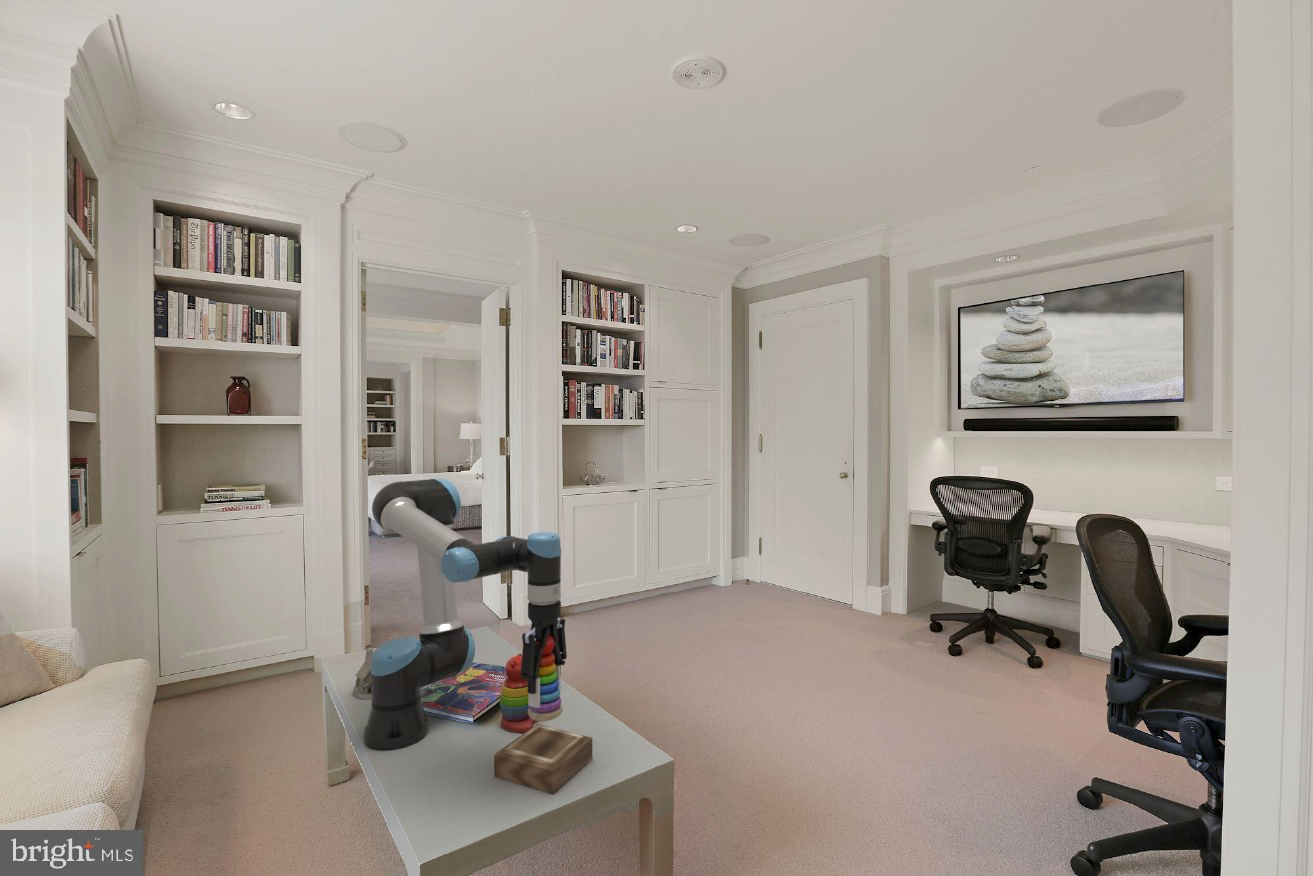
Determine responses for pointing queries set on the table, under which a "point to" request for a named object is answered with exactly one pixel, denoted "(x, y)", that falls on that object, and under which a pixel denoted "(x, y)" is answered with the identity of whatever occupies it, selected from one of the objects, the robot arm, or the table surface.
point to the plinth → (543, 758)
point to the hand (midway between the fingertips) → (544, 699)
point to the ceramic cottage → (364, 677)
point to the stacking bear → (515, 698)
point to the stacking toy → (547, 687)
